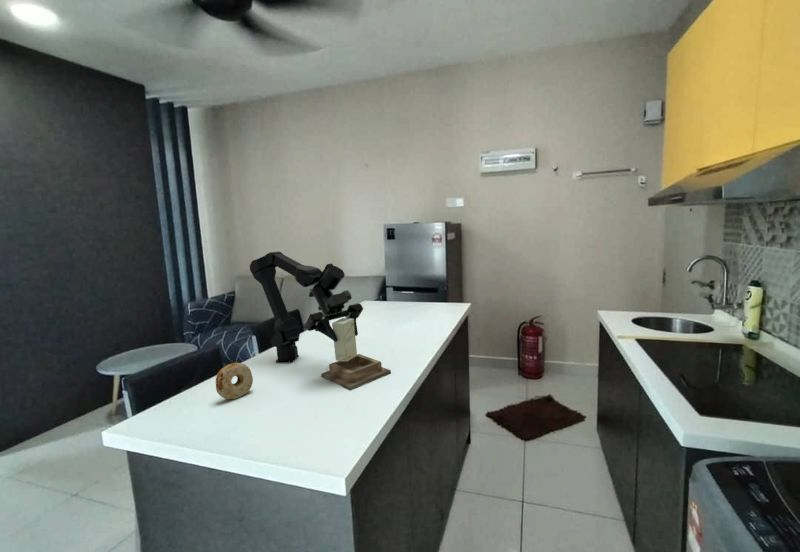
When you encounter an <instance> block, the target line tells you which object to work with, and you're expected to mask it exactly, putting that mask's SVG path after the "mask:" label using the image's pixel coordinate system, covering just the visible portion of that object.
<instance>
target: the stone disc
mask: <svg viewBox="0 0 800 552" xmlns="http://www.w3.org/2000/svg"><path fill="white" fill-rule="evenodd" d="M234 377H236V378H237V380H236V382H235V383H232V379H234ZM214 383H215V390H216V393H217V394H218V395H219V397H222V398H224V399H226V400H235V399H238V398H241V397H242V396H244V395H245V394H247V393H248V392H249V391H250V389H251V388H252V385H253V383H254V377H253V374H252V370H251V369H250V368H249V366H247V365H246V364H245V363H242V362H233V363H229V364H227V365H225V366H224V367H222V368H221V369H220V370H219V371H218V372H217V374H216V377H215V382H214Z"/></svg>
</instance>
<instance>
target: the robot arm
mask: <svg viewBox="0 0 800 552" xmlns="http://www.w3.org/2000/svg"><path fill="white" fill-rule="evenodd" d="M276 268H279V269H281V270H283V271H284V272H286V273H288V274H290V275H292V276H293V278H294V279H295V282H297V283H298V284H299V285H300V286H301V287H303V288H308V287H311V286H312V288H310V290H309V291H310V292H309V293H308V298H314V299H315V300H316V303H317V304H318V308H317V309H318V312H315V313H310V314H309V316H308V318H307V320H306V322H305V327H306V330H307V331H308V332H312V331H315V332H319V333H321V334H323V335H324V336H326V337H327V338H329V339H330V340H332V341H333V342H334V341H335V342H337V341H338V339H337V337H336V335H335V333H334V331H333V327H332V326H331V325H330V321H332V320H337V319H342V318H349V319H354V327H355V337H358V335H359V331H358V326H357V319H358V318H359V317H360V315H361V314H362V312H363V310H364V307H363V306H362V304H361V303H358V302H357V303H353V304H349V305H348V307H347V309H346V310H343V309H345V305H346V304H348V303H349V301H351V300H352V295H351V293H350V291H349V289H346V290H342V292H340V293H335V294H334V293H333V292H332V291H333V290H335V289H337V287H338V286H339V284H341V282H342V280H344V278H345V272H344V270H343V269H341V268H340V267H339V266H336V265H334V264H333V263H327V264H326V265H325V267H324V269H322V270H321V269H320V268H319V267H316V266H312V265H306V264H305V265H304V264H303V263H302V264H301V263H300V262H298V261H296V260H294V259H292V258H291V257H289V256H287V255H285V254H283V252H282V251H270V252H268V253H267V254H265V255H263V256H261V257H260V258H256V259H253V260H252V261H251V262H250V264H249V271H250V273H251V275H252V276H253V278H254V280H256V281H257V282H259V283H260V285H261V286H262V289H263V291H264V294H265V296H266V299H267V302H268V305H269V307H270V310H271V312H272V315H273V318H274V320H275V322H274V327H273V330H274V336H272V338H271V339H270V343H271V345H272V347H273V348H274V347H275V348H276V354H277V355H276V356H277V359H276V360H275V363H293V362H294V361H296V360H297V359H298V358H299V357H300V356H299V355H300V354H299V352H298V346H297V345H296V343H297V342H299V340H300V336H301V335H300V334H301V329H300V328H301V326H300V325H299V322H298V318H297V317H292V316H291V315H290V314H289V312H288V310H287V307H286V305H285V302H284V299H283V297H282V294H281V292H280V289H279V286H278V284H277V282H276V276H277V275H276V274H277V269H276Z"/></svg>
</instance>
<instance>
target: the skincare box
mask: <svg viewBox="0 0 800 552" xmlns="http://www.w3.org/2000/svg"><path fill="white" fill-rule="evenodd" d="M331 325H332V326H331V328H332V329H333V331H334V333H335V335H336V337H337V339H338V341H337V342H335V341H333V345H334V347H333V348H334V355H335V356H334V358H335V362H337V361H346V362H347V361H349V360H350V359H352V358H354V357H355V356H357V354H358V353H357V352H358V351H357V342H356V341H357V339H356V336H355V327H354V319H349V318H346V317H341V318H339V319H338V320H337V319H336V320H335V321H333V322H331Z"/></svg>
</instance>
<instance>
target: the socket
mask: <svg viewBox="0 0 800 552" xmlns="http://www.w3.org/2000/svg"><path fill="white" fill-rule="evenodd" d="M328 367H329V370H327V371H324V372H322V373H320V376H321V377H322V378H324V379H326V380H329V381H330V382H332V383H334V384H336V385H338V386H340V387H342V388H344V389H346V390H348V391H352V390H354V389H357V388H358V387H361V386H364V385H366V384H369V383H371V382H373V381H375V380H376V381H377V380H378V379H380V378H383V377H386V376H388V375H390V374H391V373H392V371H391V369H388V368H386V367H383V366H382V361H380V360H378V359H375V358H371V357H369V356H366V355H365V354H364V355H363V354H360V353H357V356H355V357H354V358H352V359H350V360H349V361H347V362H346V361H334V362H332V363H328Z"/></svg>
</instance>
